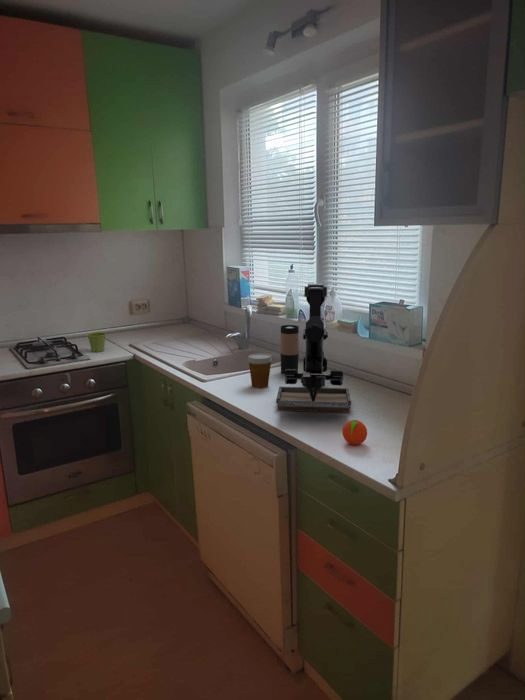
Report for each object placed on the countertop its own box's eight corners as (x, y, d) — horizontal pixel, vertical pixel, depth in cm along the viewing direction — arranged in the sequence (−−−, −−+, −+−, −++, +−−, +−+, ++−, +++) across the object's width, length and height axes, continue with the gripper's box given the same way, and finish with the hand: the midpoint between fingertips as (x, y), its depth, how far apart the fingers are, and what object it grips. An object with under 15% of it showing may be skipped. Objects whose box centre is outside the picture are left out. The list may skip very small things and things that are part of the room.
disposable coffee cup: (244, 383, 204) (244, 354, 202) (267, 381, 207) (267, 352, 205) (252, 390, 196) (251, 360, 193) (275, 388, 199) (275, 357, 196)
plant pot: (92, 354, 255) (90, 336, 253) (85, 350, 262) (83, 334, 260) (110, 351, 261) (109, 334, 259) (103, 348, 268) (101, 331, 266)
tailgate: (280, 399, 173) (277, 400, 161) (346, 401, 171) (349, 402, 159) (280, 404, 173) (277, 405, 161) (346, 406, 171) (348, 407, 159)
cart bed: (279, 397, 188) (279, 386, 187) (348, 399, 185) (348, 388, 184) (276, 410, 174) (276, 398, 173) (350, 412, 172) (351, 401, 171)
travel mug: (277, 371, 221) (277, 325, 216) (292, 369, 224) (292, 324, 220) (286, 376, 214) (286, 328, 210) (301, 373, 218) (302, 327, 213)
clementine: (363, 452, 141) (364, 427, 140) (338, 448, 144) (339, 424, 142) (368, 441, 149) (369, 417, 147) (345, 437, 151) (345, 414, 150)
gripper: (341, 371, 177) (341, 412, 169) (286, 369, 179) (284, 410, 171) (343, 354, 168) (343, 397, 160) (285, 353, 170) (283, 395, 162)
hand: (313, 400), depth 163 cm, fingers closed
